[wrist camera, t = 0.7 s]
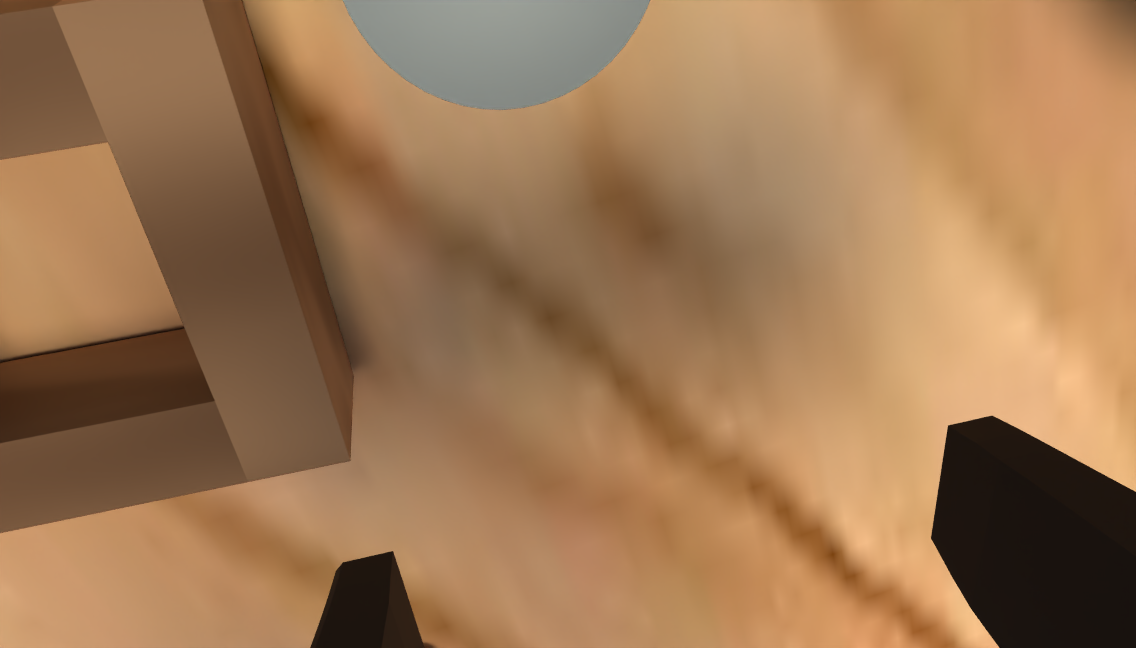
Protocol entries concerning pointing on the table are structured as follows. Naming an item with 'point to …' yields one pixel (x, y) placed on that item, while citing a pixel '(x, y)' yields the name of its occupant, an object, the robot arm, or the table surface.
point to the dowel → (497, 45)
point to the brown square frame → (171, 267)
